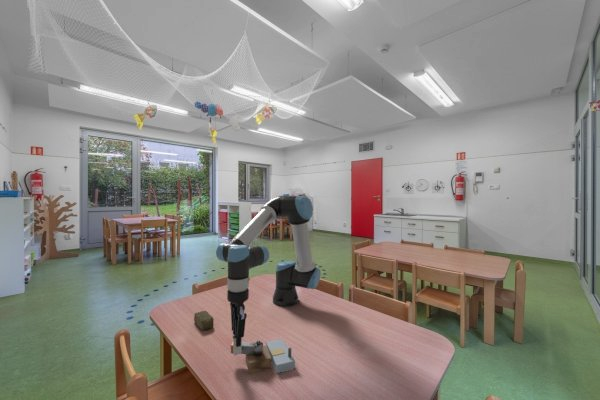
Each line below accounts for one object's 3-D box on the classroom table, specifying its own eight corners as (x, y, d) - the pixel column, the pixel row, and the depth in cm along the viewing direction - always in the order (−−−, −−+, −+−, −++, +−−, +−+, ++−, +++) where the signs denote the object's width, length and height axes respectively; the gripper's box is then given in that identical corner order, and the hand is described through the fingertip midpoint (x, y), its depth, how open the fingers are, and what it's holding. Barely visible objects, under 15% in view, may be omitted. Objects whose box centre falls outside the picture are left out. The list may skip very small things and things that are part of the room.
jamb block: (266, 355, 99) (266, 345, 99) (271, 368, 92) (271, 357, 92) (245, 360, 96) (245, 349, 96) (249, 374, 89) (249, 362, 89)
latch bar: (264, 350, 95) (264, 339, 95) (261, 356, 92) (261, 344, 92) (233, 348, 97) (233, 337, 96) (230, 354, 93) (230, 342, 93)
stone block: (202, 332, 116) (202, 321, 115) (193, 322, 124) (193, 312, 124) (214, 327, 119) (214, 317, 119) (205, 318, 128) (205, 309, 128)
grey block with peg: (282, 345, 106) (282, 331, 106) (294, 368, 92) (295, 352, 92) (266, 349, 103) (266, 334, 103) (276, 373, 89) (276, 356, 89)
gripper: (254, 292, 88) (253, 360, 88) (243, 282, 99) (242, 341, 99) (232, 296, 85) (231, 367, 85) (223, 285, 96) (222, 347, 96)
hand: (237, 353), depth 92 cm, fingers closed
